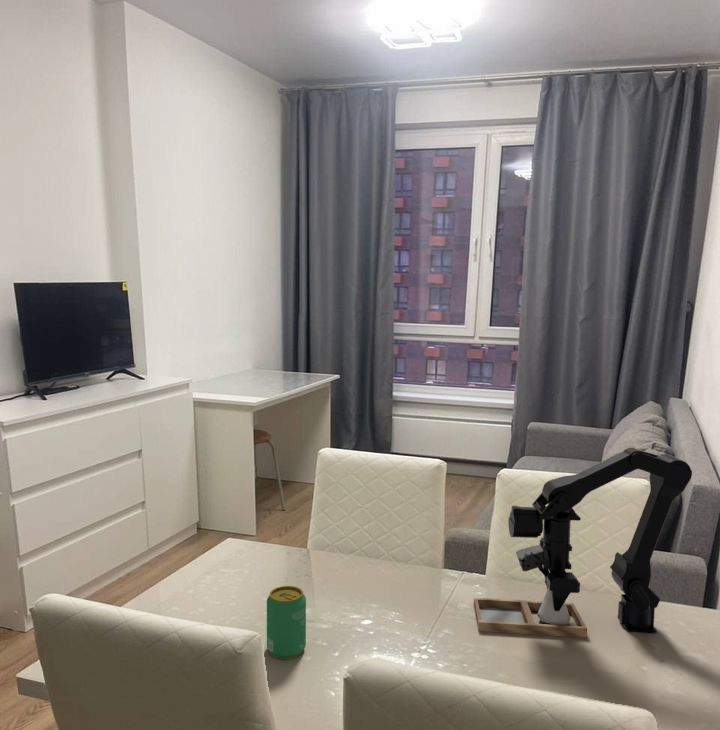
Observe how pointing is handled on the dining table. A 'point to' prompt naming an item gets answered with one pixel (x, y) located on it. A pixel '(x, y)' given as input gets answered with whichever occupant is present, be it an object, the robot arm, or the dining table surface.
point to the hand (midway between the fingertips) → (554, 605)
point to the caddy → (522, 618)
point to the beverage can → (286, 622)
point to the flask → (552, 611)
